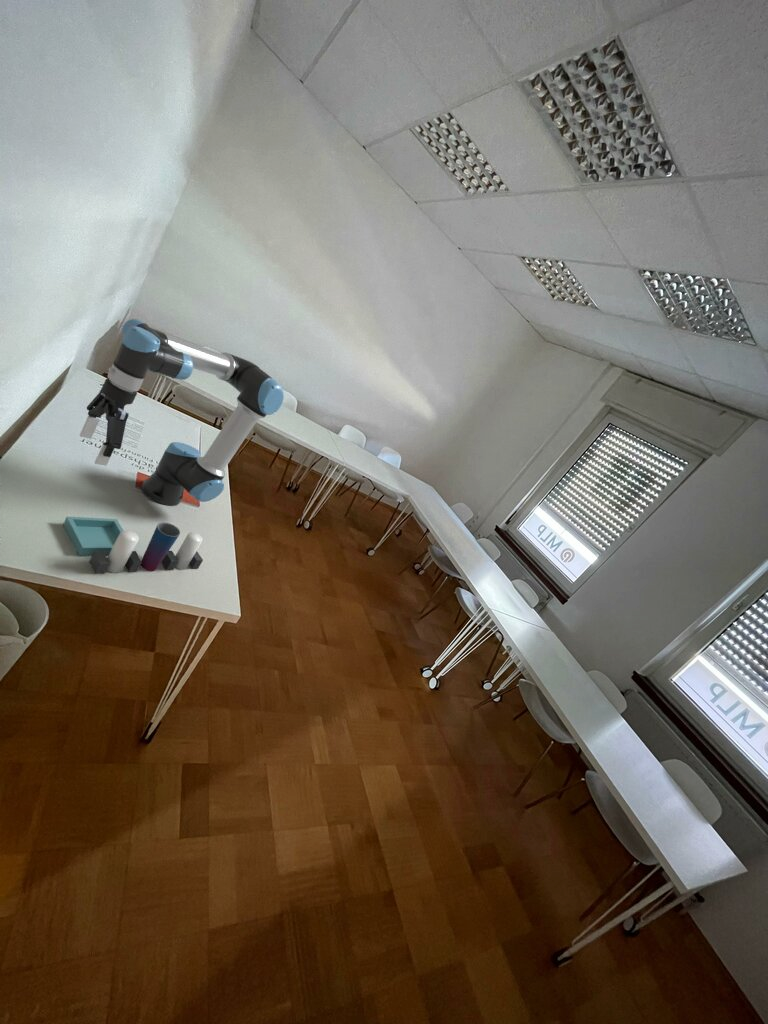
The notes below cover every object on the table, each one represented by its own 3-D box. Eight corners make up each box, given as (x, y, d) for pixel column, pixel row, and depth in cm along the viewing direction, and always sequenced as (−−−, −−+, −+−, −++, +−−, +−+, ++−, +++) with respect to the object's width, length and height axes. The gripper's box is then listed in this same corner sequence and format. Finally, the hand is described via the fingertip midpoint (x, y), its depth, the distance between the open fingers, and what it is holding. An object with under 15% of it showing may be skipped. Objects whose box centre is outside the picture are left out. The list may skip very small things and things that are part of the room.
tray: (112, 526, 137) (116, 519, 136) (129, 555, 131) (133, 547, 130) (62, 524, 125) (66, 516, 124) (78, 556, 119) (82, 547, 118)
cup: (143, 555, 134) (162, 519, 130) (163, 565, 136) (183, 530, 132) (132, 566, 128) (153, 528, 124) (154, 576, 130) (175, 539, 126)
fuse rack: (191, 559, 147) (206, 532, 144) (197, 568, 145) (213, 542, 142) (88, 562, 119) (105, 529, 116) (94, 574, 117) (111, 541, 114)
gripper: (92, 357, 114) (64, 423, 120) (123, 404, 102) (91, 473, 108) (121, 368, 120) (93, 429, 126) (154, 412, 109) (122, 478, 114)
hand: (92, 450), depth 117 cm, fingers open, 13 cm apart
